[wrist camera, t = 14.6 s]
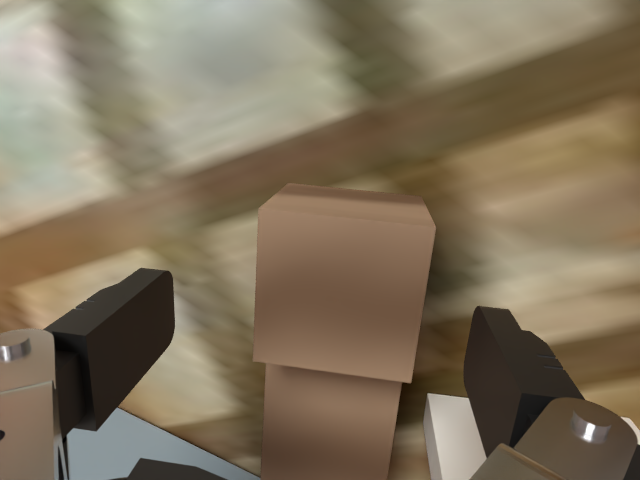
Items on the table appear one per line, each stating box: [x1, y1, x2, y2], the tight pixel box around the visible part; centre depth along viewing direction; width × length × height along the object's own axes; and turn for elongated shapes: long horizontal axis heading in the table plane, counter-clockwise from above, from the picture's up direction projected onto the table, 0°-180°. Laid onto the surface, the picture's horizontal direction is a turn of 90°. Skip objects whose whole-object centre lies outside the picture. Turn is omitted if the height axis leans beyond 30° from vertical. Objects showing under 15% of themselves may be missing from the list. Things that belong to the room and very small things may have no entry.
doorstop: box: [253, 183, 436, 480], centre depth 17 cm, size 14×5×4 cm, turn 175°
